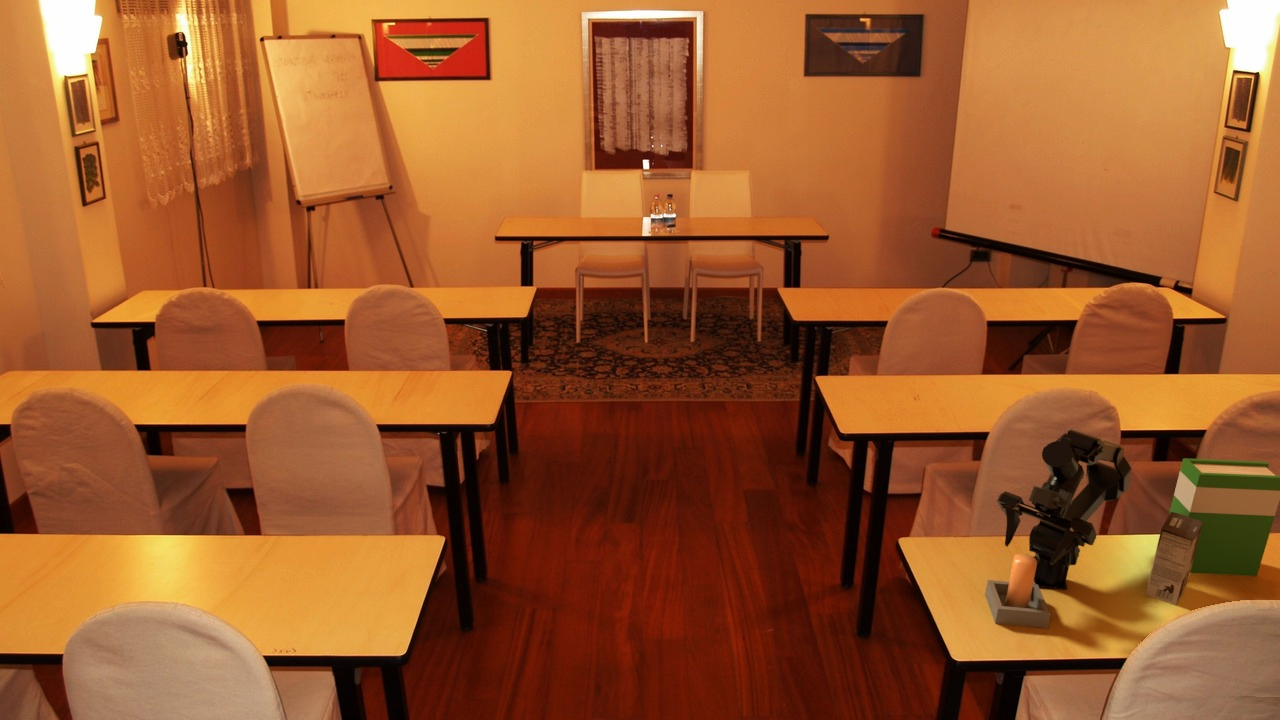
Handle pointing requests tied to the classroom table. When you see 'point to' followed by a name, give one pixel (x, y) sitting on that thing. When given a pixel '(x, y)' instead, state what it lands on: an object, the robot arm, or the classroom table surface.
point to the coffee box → (1174, 558)
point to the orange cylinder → (1021, 581)
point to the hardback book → (1228, 512)
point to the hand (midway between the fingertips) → (1028, 554)
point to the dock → (1013, 615)
